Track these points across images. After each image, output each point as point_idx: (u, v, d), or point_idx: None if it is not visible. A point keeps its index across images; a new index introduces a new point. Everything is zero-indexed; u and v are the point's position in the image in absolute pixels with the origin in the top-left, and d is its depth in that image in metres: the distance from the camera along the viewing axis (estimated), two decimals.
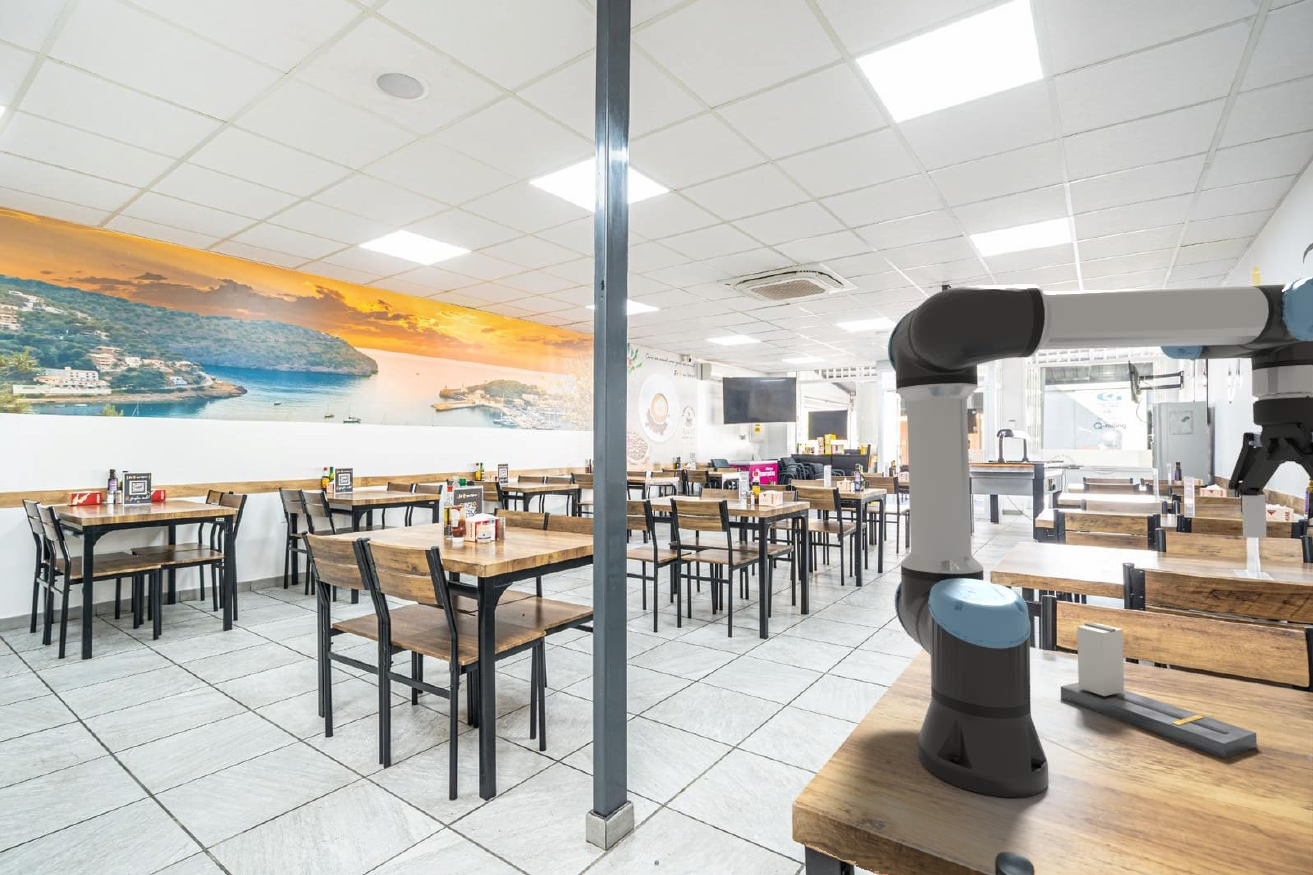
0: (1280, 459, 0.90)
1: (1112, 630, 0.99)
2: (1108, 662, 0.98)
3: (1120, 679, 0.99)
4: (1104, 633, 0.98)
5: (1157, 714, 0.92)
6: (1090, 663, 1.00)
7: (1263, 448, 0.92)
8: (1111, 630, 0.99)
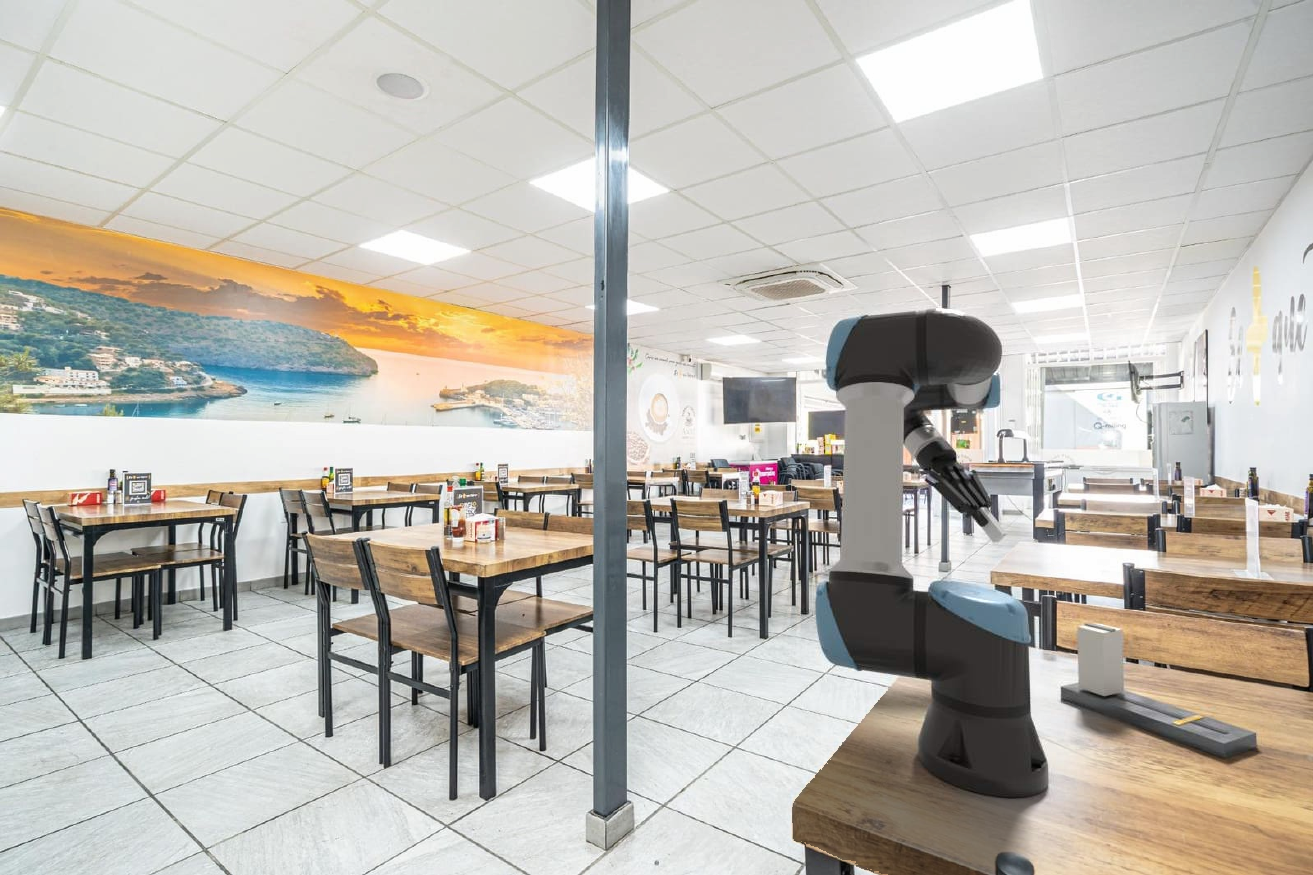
0: None
1: (1112, 630, 0.99)
2: (1108, 662, 0.98)
3: (1120, 679, 0.99)
4: (1104, 633, 0.98)
5: (1157, 714, 0.92)
6: (1090, 663, 1.00)
7: None
8: (1111, 630, 0.99)
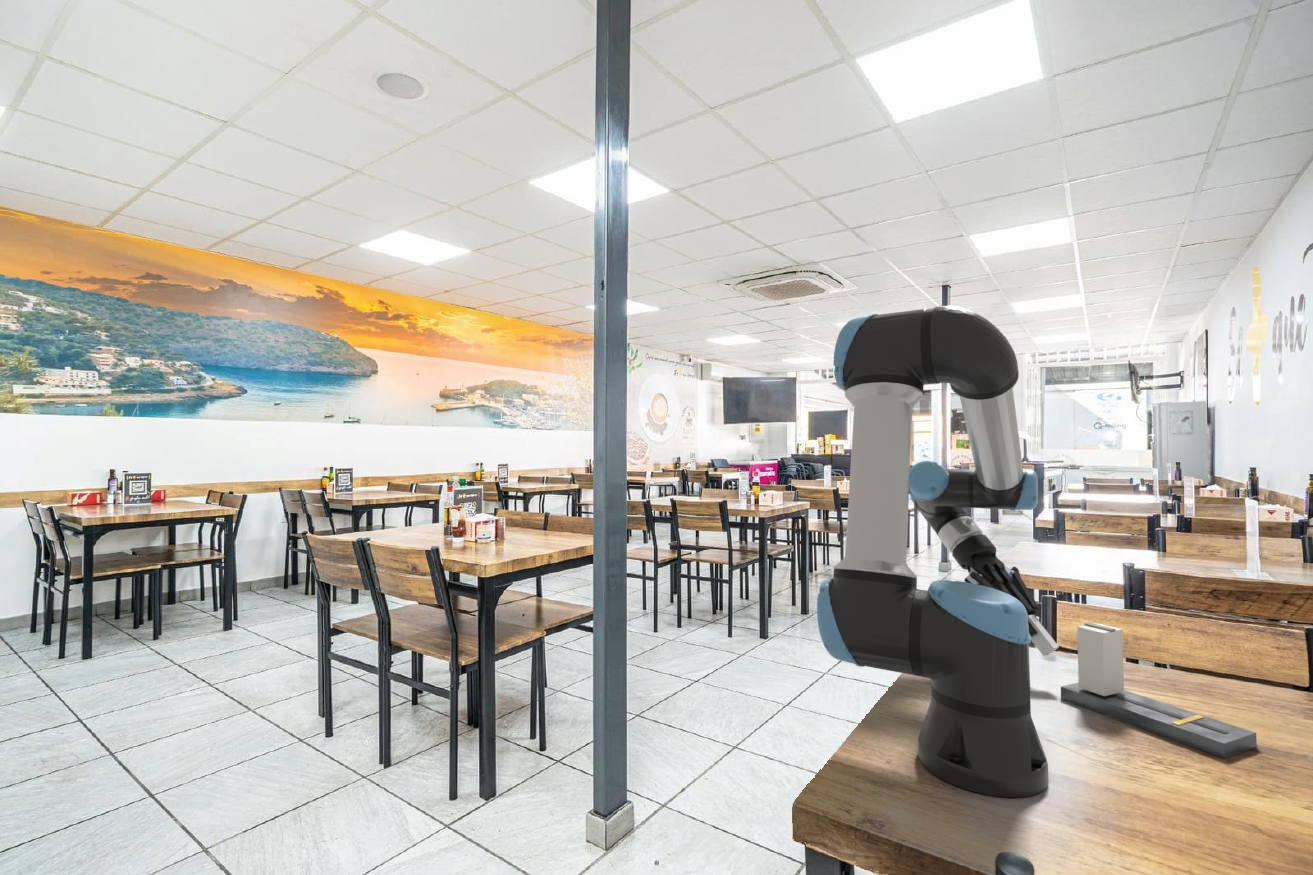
0: None
1: (1112, 630, 0.99)
2: (1108, 662, 0.98)
3: (1120, 679, 0.99)
4: (1104, 633, 0.98)
5: (1157, 714, 0.92)
6: (1090, 663, 1.00)
7: None
8: (1111, 630, 0.99)
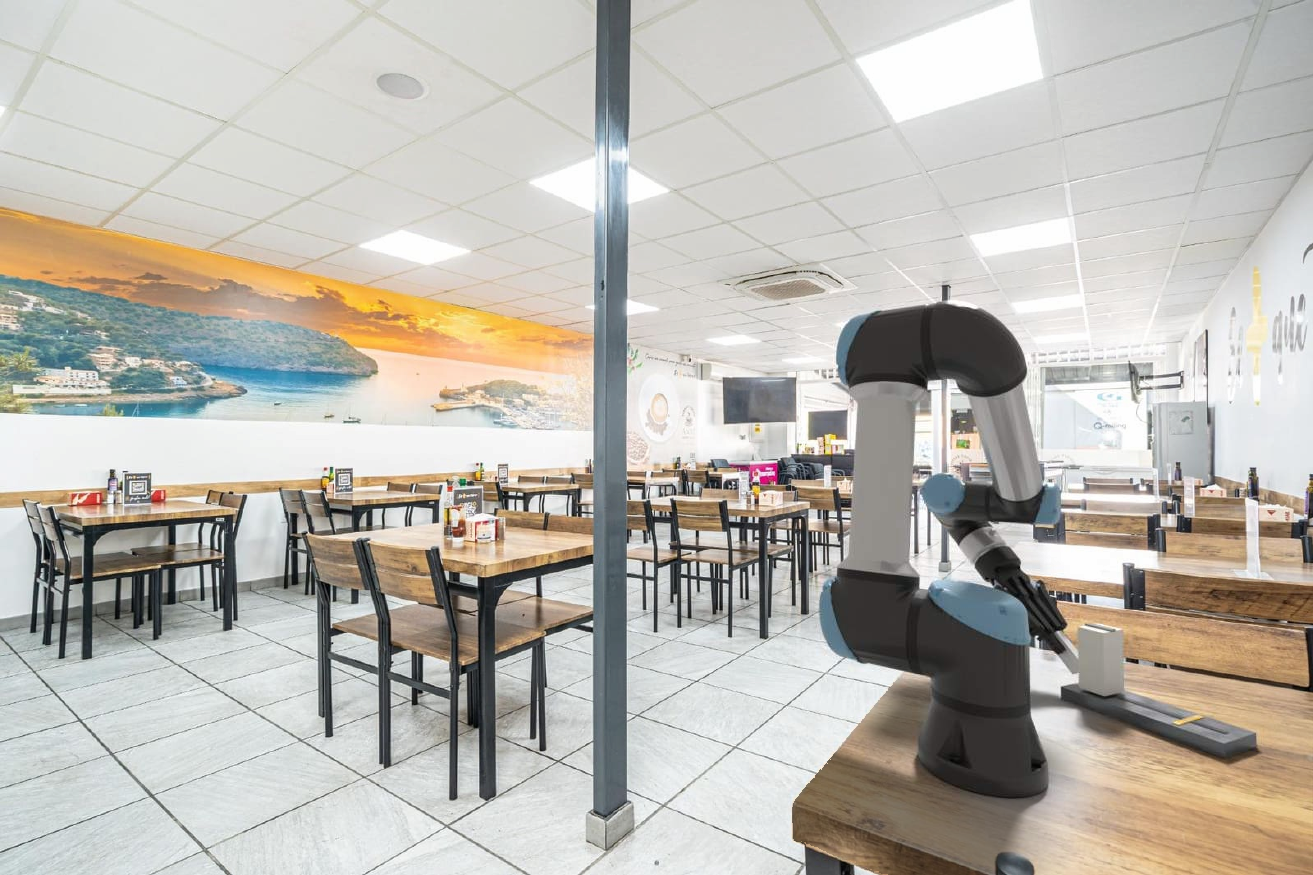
0: None
1: (1112, 630, 0.99)
2: (1109, 662, 0.98)
3: (1120, 679, 0.99)
4: (1104, 633, 0.98)
5: (1157, 714, 0.92)
6: (1090, 663, 1.00)
7: None
8: (1111, 630, 0.99)
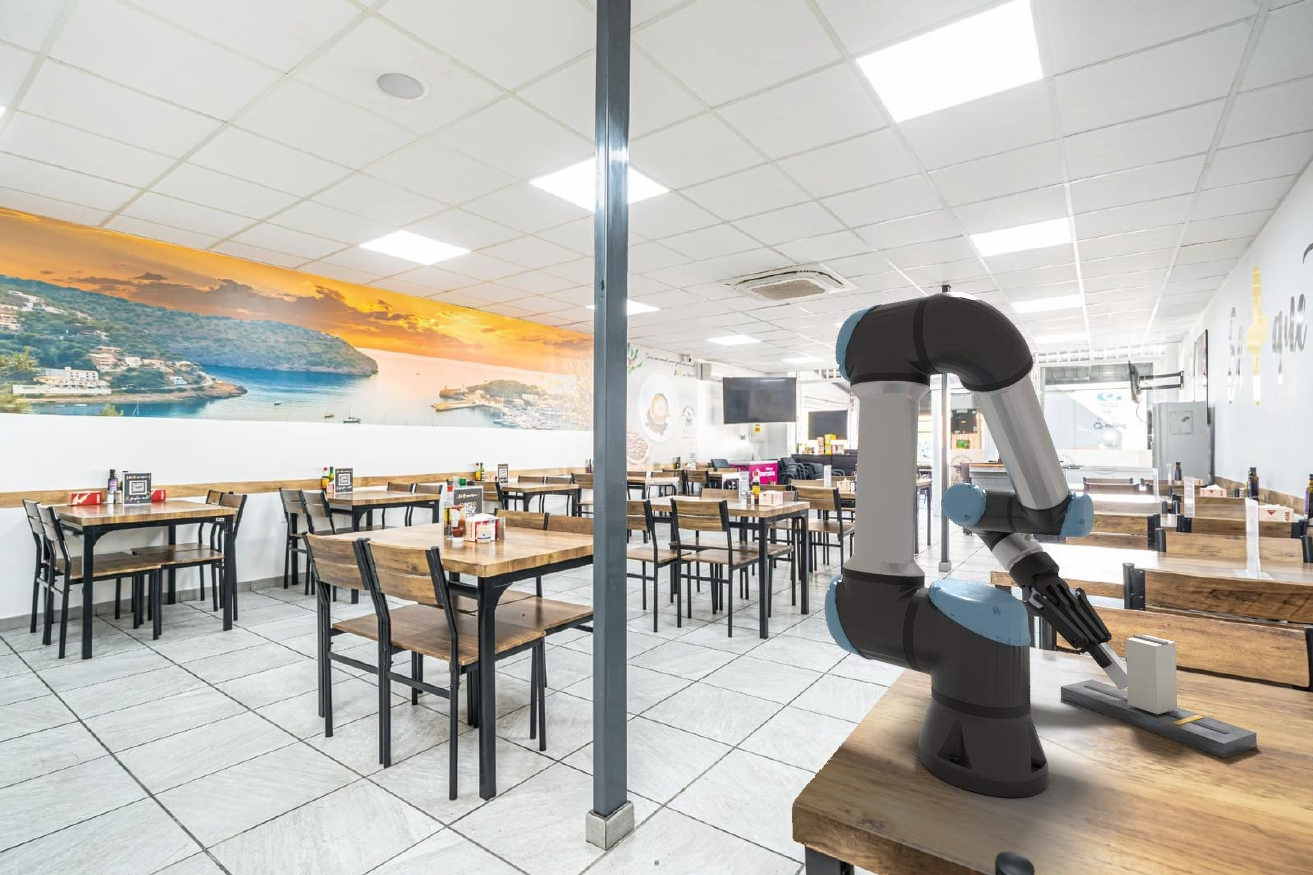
0: None
1: (1165, 643, 0.92)
2: (1161, 677, 0.91)
3: (1173, 696, 0.92)
4: (1157, 646, 0.91)
5: (1157, 714, 0.92)
6: (1141, 678, 0.93)
7: None
8: (1164, 643, 0.92)
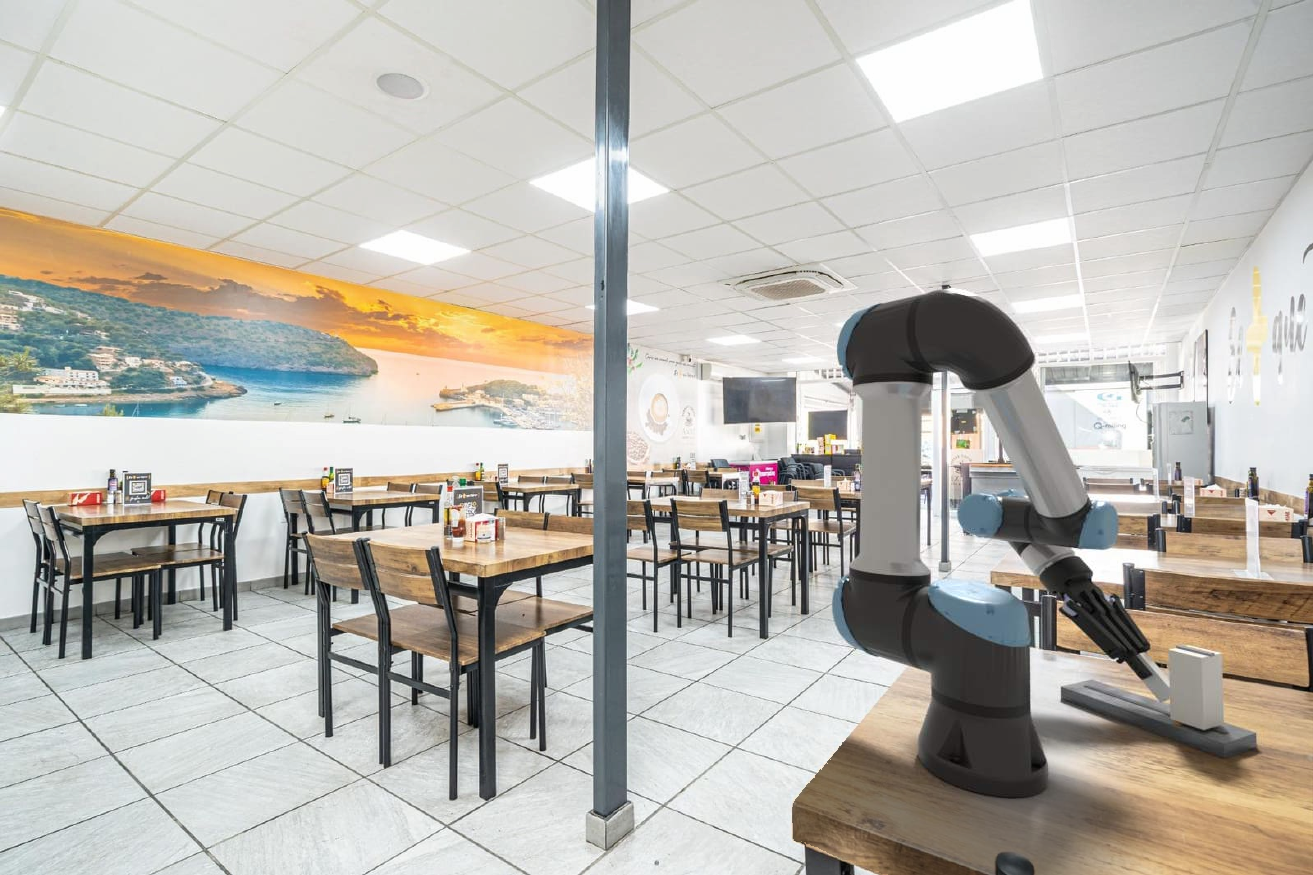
0: None
1: (1211, 654, 0.87)
2: (1208, 690, 0.86)
3: (1220, 710, 0.87)
4: (1203, 658, 0.86)
5: (1157, 714, 0.92)
6: (1185, 692, 0.88)
7: None
8: (1210, 654, 0.87)
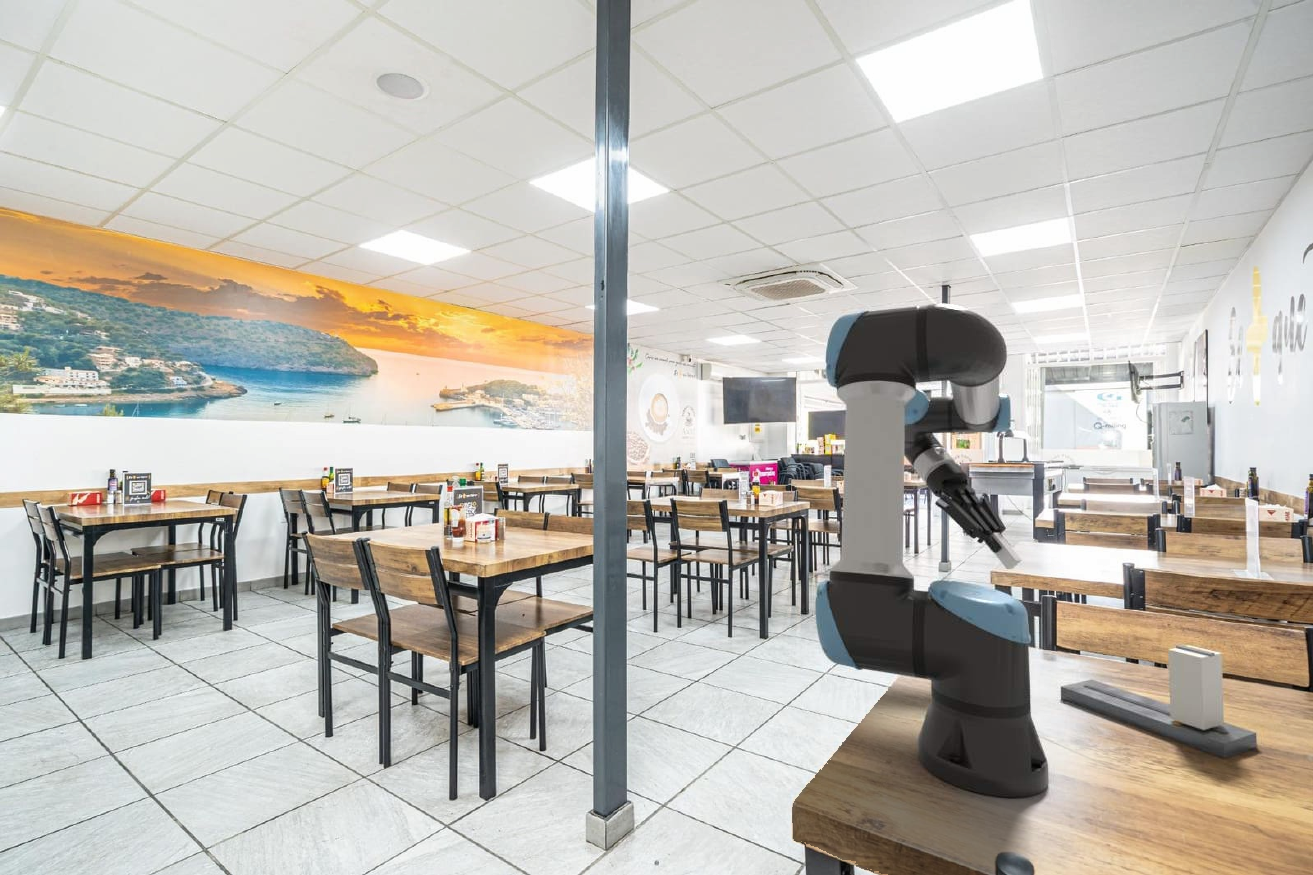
0: None
1: (1211, 654, 0.87)
2: (1208, 690, 0.86)
3: (1220, 710, 0.87)
4: (1203, 658, 0.86)
5: (1157, 714, 0.92)
6: (1185, 692, 0.88)
7: None
8: (1210, 654, 0.87)
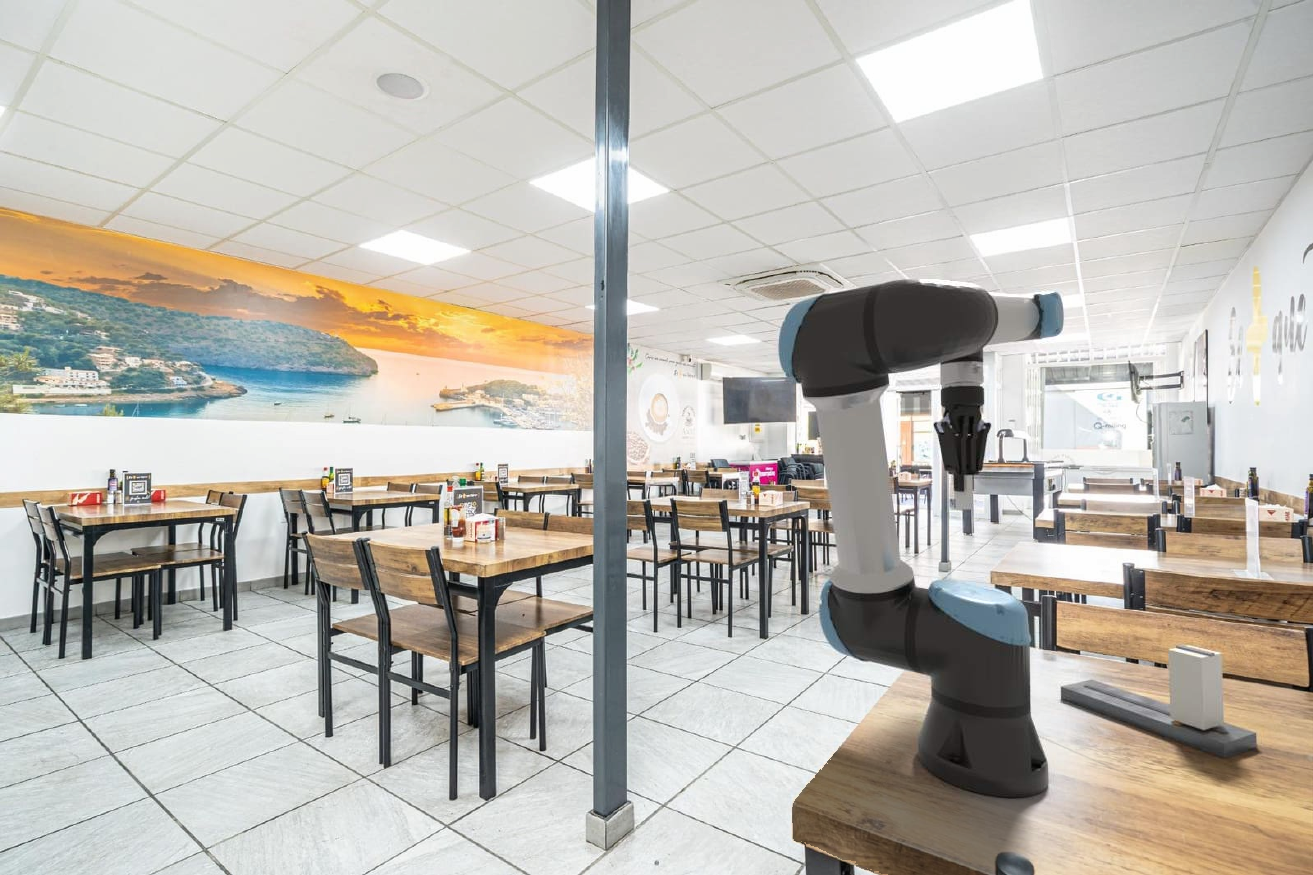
0: None
1: (1211, 654, 0.87)
2: (1208, 690, 0.86)
3: (1220, 710, 0.87)
4: (1203, 658, 0.86)
5: (1157, 714, 0.92)
6: (1185, 692, 0.88)
7: None
8: (1210, 654, 0.87)
